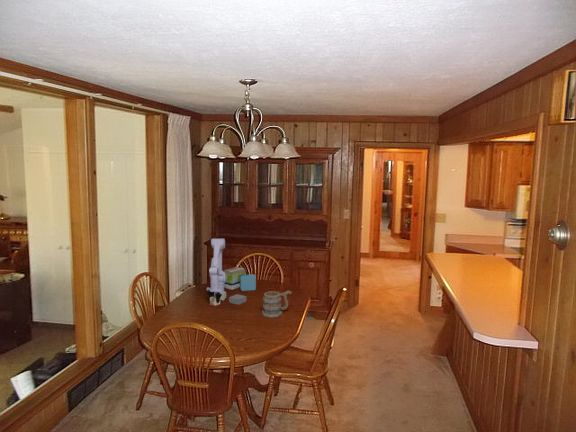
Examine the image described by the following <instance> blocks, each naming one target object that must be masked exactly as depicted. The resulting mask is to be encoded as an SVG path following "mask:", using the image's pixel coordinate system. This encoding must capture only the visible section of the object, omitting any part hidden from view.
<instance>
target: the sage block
mask: <svg viewBox="0 0 576 432" xmlns="http://www.w3.org/2000/svg"><path fill="white" fill-rule="evenodd" d="M226 293H227V291H225V290H224V291H223V294H222V295H221V297H220V301H225V298H226V299H227V294H226Z"/></svg>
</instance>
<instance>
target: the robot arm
mask: <svg viewBox="0 0 576 432" xmlns="http://www.w3.org/2000/svg"><path fill="white" fill-rule="evenodd" d="M225 239H226V238H211V239H210V245H211V248H212V249H213V257H212V258H211V260H210V261H211V262H210V267H209V270H208V271H209V272H208V273H209V278H210V287H206V291H207V294H208V297H209V298H210V297H213V296H216V303H219V301H220V302H221V300H220V297H221V295H222V294H223V291H224V292H225V288H224V283H225V282H226V273H225V272H224V270H223V250H224V249H226V240H225ZM226 295H227V292H226Z"/></svg>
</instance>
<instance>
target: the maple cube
mask: <svg viewBox="0 0 576 432" xmlns="http://www.w3.org/2000/svg"><path fill="white" fill-rule="evenodd" d="M220 304H221V300H220V301H219V303H216V296H215V295H214V296H213V297H209V305H210V306H218V305H220Z"/></svg>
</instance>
